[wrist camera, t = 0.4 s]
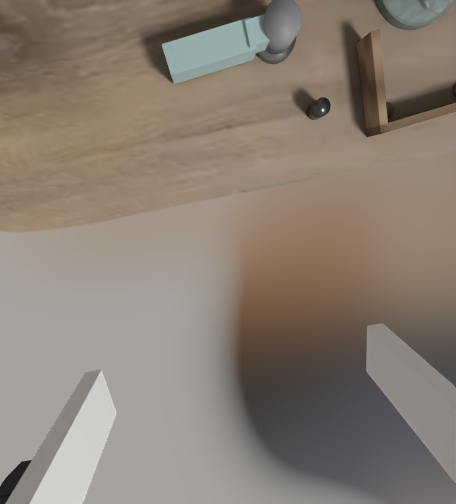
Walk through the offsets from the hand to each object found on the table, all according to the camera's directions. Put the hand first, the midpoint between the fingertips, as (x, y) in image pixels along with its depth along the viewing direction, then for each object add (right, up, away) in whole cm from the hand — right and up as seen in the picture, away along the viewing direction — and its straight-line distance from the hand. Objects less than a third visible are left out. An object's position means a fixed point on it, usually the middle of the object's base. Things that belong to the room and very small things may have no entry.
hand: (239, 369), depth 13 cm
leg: (0, +30, +19) cm, 35 cm away
